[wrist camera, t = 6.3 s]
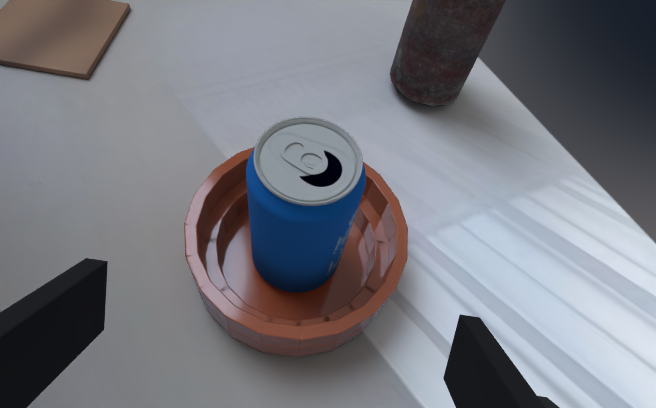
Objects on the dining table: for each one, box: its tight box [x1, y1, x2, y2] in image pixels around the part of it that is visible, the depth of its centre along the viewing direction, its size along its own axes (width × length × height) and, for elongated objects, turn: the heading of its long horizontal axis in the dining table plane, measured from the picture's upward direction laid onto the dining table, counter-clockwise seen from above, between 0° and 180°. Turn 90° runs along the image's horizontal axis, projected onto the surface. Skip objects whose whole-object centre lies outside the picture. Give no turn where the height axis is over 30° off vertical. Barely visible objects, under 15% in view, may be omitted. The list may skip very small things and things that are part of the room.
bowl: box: [184, 147, 408, 357], centre depth 30 cm, size 15×15×5 cm
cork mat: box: [0, 0, 130, 79], centre depth 41 cm, size 11×11×1 cm
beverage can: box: [246, 117, 366, 293], centre depth 27 cm, size 6×6×12 cm
